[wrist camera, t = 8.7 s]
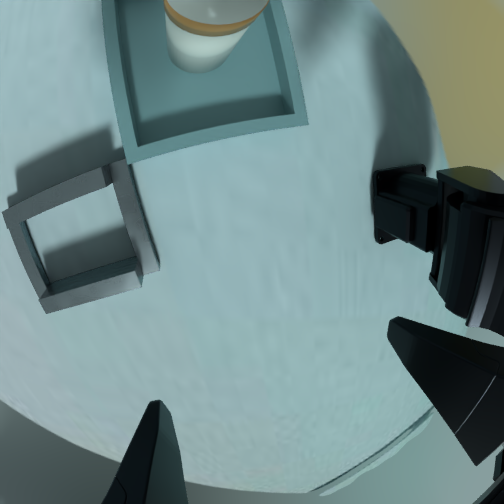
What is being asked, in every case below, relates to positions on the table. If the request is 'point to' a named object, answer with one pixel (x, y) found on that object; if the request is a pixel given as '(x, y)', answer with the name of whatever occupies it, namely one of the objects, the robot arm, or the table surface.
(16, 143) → the table surface
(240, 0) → the cylinder
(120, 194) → the clip rails
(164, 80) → the tray
